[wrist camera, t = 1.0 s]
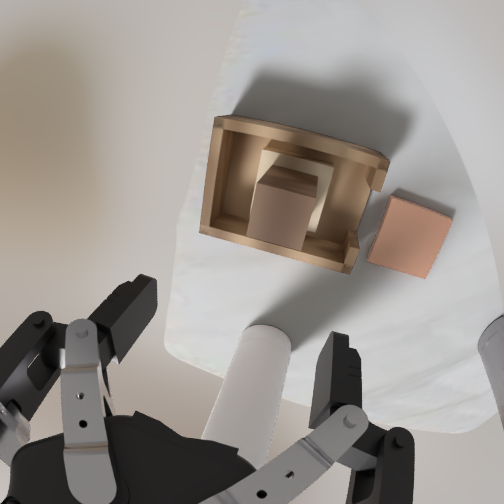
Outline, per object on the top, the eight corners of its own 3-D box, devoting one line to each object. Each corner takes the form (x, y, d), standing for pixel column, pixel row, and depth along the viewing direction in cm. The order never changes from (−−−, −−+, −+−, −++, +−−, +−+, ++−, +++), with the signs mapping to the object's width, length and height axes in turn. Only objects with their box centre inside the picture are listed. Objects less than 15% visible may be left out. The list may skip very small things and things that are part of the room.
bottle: (299, 356, 43) (254, 551, 17) (252, 363, 46) (192, 537, 20) (280, 318, 40) (215, 541, 14) (231, 327, 43) (146, 518, 17)
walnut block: (318, 176, 27) (316, 198, 21) (306, 218, 29) (300, 250, 23) (272, 164, 28) (256, 182, 22) (263, 206, 30) (246, 235, 24)
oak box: (380, 152, 27) (390, 161, 23) (347, 251, 33) (349, 274, 29) (230, 114, 29) (214, 116, 25) (215, 215, 35) (199, 232, 31)
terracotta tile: (449, 217, 28) (452, 220, 27) (423, 274, 32) (425, 278, 31) (390, 194, 29) (392, 197, 28) (366, 257, 33) (367, 261, 32)
